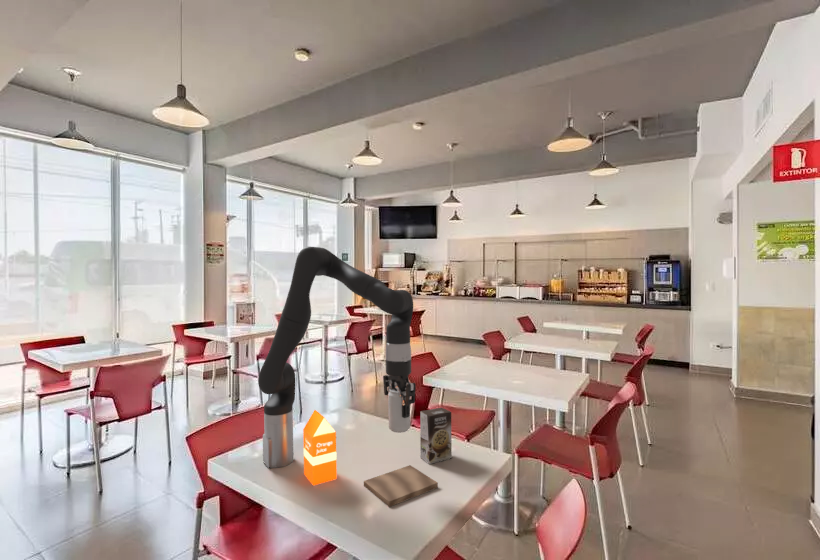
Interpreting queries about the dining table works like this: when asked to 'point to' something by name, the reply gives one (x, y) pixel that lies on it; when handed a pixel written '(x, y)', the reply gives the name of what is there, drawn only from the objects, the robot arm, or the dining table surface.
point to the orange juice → (319, 450)
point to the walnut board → (400, 485)
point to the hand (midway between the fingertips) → (399, 413)
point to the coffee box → (435, 435)
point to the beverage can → (397, 413)
